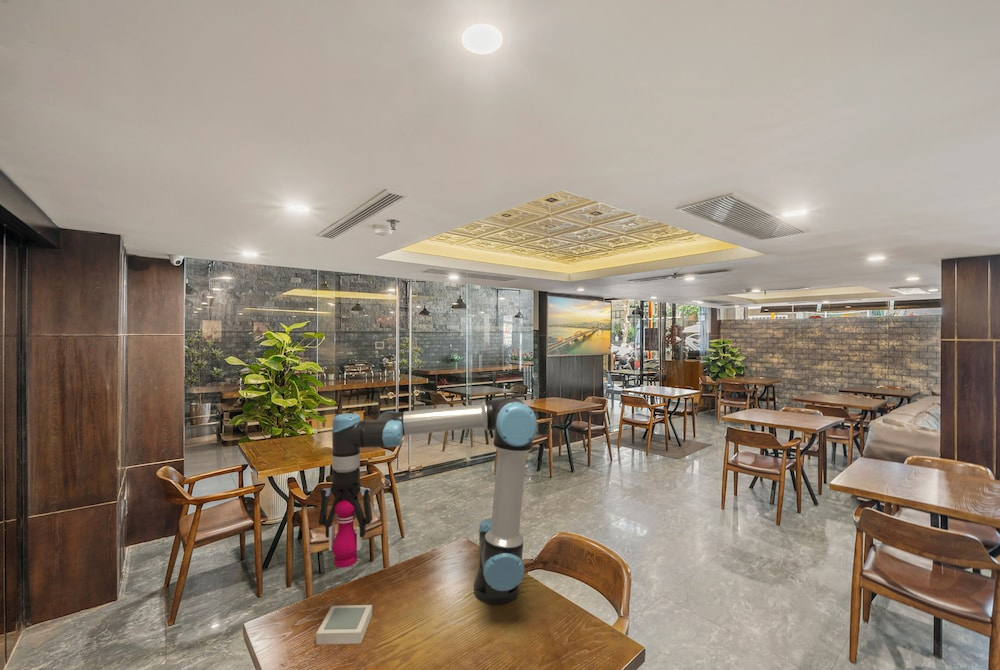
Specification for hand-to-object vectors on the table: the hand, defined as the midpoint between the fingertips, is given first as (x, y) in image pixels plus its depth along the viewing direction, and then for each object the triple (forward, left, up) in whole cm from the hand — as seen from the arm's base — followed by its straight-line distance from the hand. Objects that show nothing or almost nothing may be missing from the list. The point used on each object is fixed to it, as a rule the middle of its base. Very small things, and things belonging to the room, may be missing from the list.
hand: (345, 548), depth 123 cm
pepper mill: (0, 0, -4) cm, 4 cm away
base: (0, 0, -23) cm, 23 cm away
